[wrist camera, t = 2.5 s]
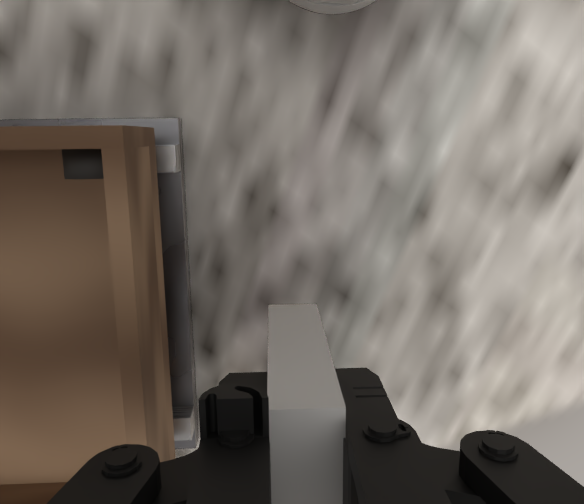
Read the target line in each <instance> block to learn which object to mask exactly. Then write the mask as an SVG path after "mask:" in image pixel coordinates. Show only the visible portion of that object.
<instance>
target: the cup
mask: <svg viewBox="0 0 584 504" xmlns="http://www.w3.org/2000/svg"><path fill="white" fill-rule="evenodd" d="M289 1H290V2H292V3H293V4H295V5H297V6H299V7H301V8H304V9H306V10H309V11H312V12H317V13H322V14H342V13H348V12H352V11H356V10H359V9H361V8H364V7H366V6H368V5H370V4H372V3H373V2H375V1H376V0H289Z"/></svg>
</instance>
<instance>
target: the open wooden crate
mask: <svg viewBox="0 0 584 504" xmlns="http://www.w3.org/2000/svg"><path fill="white" fill-rule="evenodd" d="M123 444H140V445H144V446H148V447H151V448H152V449H154V450H155V451H156V452H158V456H159V459H160V462H164V461H168V460H172V459H176V458H175V443H174V427H173V412H172V396H171V381H170V365H169V350H168V334H167V319H166V303H165V288H164V272H163V257H162V241H161V226H160V210H159V195H158V179H157V164H156V149H155V133H154V128H152V127H139V126H126V125H97V126H2V127H0V504H47V503H48V502H49V500H50V499H51V498H52V497H53V496H54V495H55V494H56V493H57V492H58V491H59V490H60V489H61V488H62V487H63V486H64V485H65V484H66V483H67V482H68V481H69V480H70V479H71V478H72V477H73V476H74V475H75V474H76V473H77V472H78V471H79V470H80V469H81V467H82V466H83V465H84V464H85V463H86V462H87V461H88V460H90V459H91V458H92V457H94V456H95V455H96V454H98V453H100V452H102V451H104V450H106V449H109V448H111V447H114V446H117V445H119V446H120V445H123Z"/></svg>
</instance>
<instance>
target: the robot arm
mask: <svg viewBox="0 0 584 504" xmlns="http://www.w3.org/2000/svg"><path fill="white" fill-rule="evenodd" d="M199 417H200V437H201V440H200V444H199V448H198V449H197V450H195V451H194V452H192V453H190V454H188V455H186V456H183V457H180V458H176V459H172V460H168V461H164V462H160V459H159V456H158V452H156V451H155V450H154V449H152V448H151V447H148V446H144V445H140V444H123V445H120V446H119V445H117V446H114V447H111V448H109V449H106V450H104V451H102V452H100V453H98V454H96V455H95V456H94V457H92V458H91V459H90V460H88V461H87V462H86V463H85V464H84V465H83V466H82V467H81V469H80V470H79V471H78V472H77V473H76V474H75V475H74V476H73V477H72V478H71V479H70V480H69V481H68V482H67V483H66V484H65V485H64V486H63V487H62V488H61V489H60V490H59V491H58V492H57V493H56V494H55V495H54V496H53V497H52V498H51V499H50V500H49V502H48V503H47V504H584V487H583V486H582V485H580V484H579V483H577V481H575V480H574V479H573V478H571V477H570V476H569V475H568V474H566V473H565V472H564V471H562V470H561V469H560V468H559V467H557V466H556V465H555V464H553V463H552V462H551V461H549V460H548V459H547V458H546V457H544V456H543V455H542V454H540V453H539V452H537V450H535V449H534V448H533V447H531V446H530V445H529V444H527V443H526V442H524V441H522V440H520V439H519V438H517V437H514V436H512V435H509V434H506V433H504V432H500V431H496V432H495V431H493V430H486V431H475V432H472V433H470V434H467V435H465V436H464V437H463V438H462V439H461V442H460V451H454V450H448V449H442V448H437V447H432V446H428V445H426V444H423V443H421V441H420V439H419V437H418V435H417V433H416V431H415V430H414V429H413V428H412V427H411V426H410V425H409V424H407V423H405V422H404V421H402V420H399V419H398V418H397V416H396V414H395V411H394V409H393V407H392V405H391V403H390V400H389V398H388V397H387V394H386V392H385V390H384V388H383V385H382V383H381V381H380V379H379V376H377V375H376V374H375V373H373V372H372V371H370V370H369V369H367V368H341V369H335V367H334V364H333V360H332V357H331V353H330V350H329V346H328V342H327V339H326V335H325V332H324V328H323V325H322V321H321V318H320V314H319V310H318V307H317V304H275V305H268V371H267V372H250V373H229V374H228V375H227V376H226V377H225V378H224V379H223V380H221V381H220V382H219V386H217V387H214V388H211V389H209V390H208V391H206V392H204V393H203V394H202V395H201V397H200V398H199Z"/></svg>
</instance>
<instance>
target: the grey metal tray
mask: <svg viewBox="0 0 584 504" xmlns="http://www.w3.org/2000/svg"><path fill="white" fill-rule="evenodd" d="M97 125H126V126H139V127H152V128H154V133H155V149H156V164H157V179H158V195H159V210H160V226H161V241H162V257H163V272H164V288H165V303H166V319H167V334H168V350H169V365H170V381H171V396H172V412H173V427H174V443H175V449H182V448H196V446H197V442H198V421H197V403H196V384H195V366H194V347H193V329H192V310H191V292H190V273H189V254H188V236H187V217H186V199H185V180H184V162H183V143H182V125H181V118H111V119H11V120H0V127H2V126H97Z"/></svg>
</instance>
